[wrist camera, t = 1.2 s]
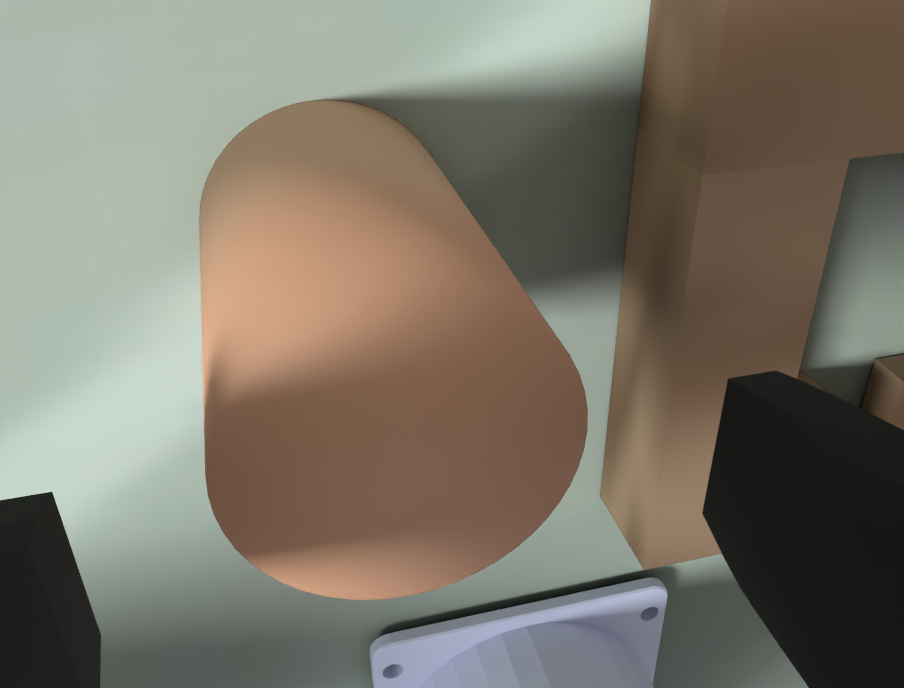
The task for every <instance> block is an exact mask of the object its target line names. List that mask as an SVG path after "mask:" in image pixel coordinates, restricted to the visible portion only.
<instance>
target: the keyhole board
mask: <svg viewBox="0 0 904 688" xmlns="http://www.w3.org/2000/svg"><path fill="white" fill-rule="evenodd" d="M897 153H904V0H651V7H650V17H649V27H648V37H647V46H646V56H645V66H644V75H643V85H642V95H641V104H640V114H639V124H638V134H637V143H636V153H635V163H634V172H633V182H632V192H631V201H630V211H629V221H628V231H627V240H626V250H625V260H624V269H623V279H622V289H621V298H620V308H619V318H618V328H617V337H616V347H615V357H614V366H613V376H612V386H611V396H610V405H609V415H608V425H607V434H606V444H605V454H604V463H603V473H602V483H601V493H600V497H601V499H602V500H603V502H604V504H605V505H606V507H607V509H608V510H609V512H610V514H611V515H612V517H613V519H614V520H615V522H616V524H617V525H618V527H619V529H620V531H621V532H622V534H623V536H624V537H625V539H626V541H627V542H628V544H629V546H630V547H631V549H632V551H633V552H634V554H635V556H636V557H637V559H638V561H639V562H640V564H641V566H642V567H643V569H644V570H647V569H652V568H656V567H661V566H666V565H670V564H675V563H680V562H685V561H689V560H694V559H699V558H703V557H708V556H713V555H717V554H722V553H721V551H720V548H719V546H718V544H717V542H716V540H715V538H714V536H713V534H712V532H711V530H710V528H709V526H708V524H707V522H706V520H705V518H704V516H703V514H702V511H703V506H704V501H705V496H706V491H707V485H708V480H709V475H710V470H711V464H712V459H713V454H714V449H715V444H716V438H717V433H718V428H719V423H720V417H721V412H722V407H723V402H724V397H725V391H726V386H727V381H728V378H734V377H740V376H746V375H752V374H758V373H764V372H769V371H775V370H776V371H779V372H781V373H784V374H786V375H789V376H791V377H794V378H796V379H798V380H801V381H803V382H805V383H807V384H810V385H812V386H814V387H816V388H818V389H820V390H823V389H822V388H821V387H820V386H819V385H818V384H817V383H815V382H814V381H813V380H812V379H811V378H810V377H809V376H808V375H807V374H806V373H805V372H803V371H802V372H799V369H800V365H801V361H802V357H803V353H804V348H805V344H806V340H807V336H808V332H809V328H810V323H811V319H812V315H813V311H814V307H815V302H816V298H817V294H818V290H819V286H820V282H821V277H822V273H823V269H824V265H825V261H826V257H827V252H828V248H829V244H830V240H831V236H832V232H833V227H834V223H835V219H836V215H837V211H838V206H839V202H840V198H841V194H842V190H843V186H844V181H845V177H846V173H847V169H848V165H849V161H850V159H853V158H862V157H871V156H880V155H888V154H897ZM823 391H824V390H823ZM861 409H862V410H864V411H866V412H868V413H870V414H872V415H874V416H876V417H878V418H880V419H882V420H884V421H886V422H888V423H890V424H892V425H894V426H896V427H898V428H900V429H902V430H904V354H902V355H897V356H891V357H885V358H879V359H875V362H874V365H873V369H872V372H871V375H870V379H869V382H868V386H867V389H866V393H865V396H864V399H863V403H862V406H861Z"/></svg>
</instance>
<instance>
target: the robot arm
mask: <svg viewBox="0 0 904 688" xmlns="http://www.w3.org/2000/svg"><path fill="white" fill-rule="evenodd" d="M702 514H703V516H704V518H705V520H706V522H707V524H708V526H709V528H710V530H711V532H712V534H713V536H714V538H715V540H716V542H717V544H718V546H719V548H720V551H721V553H722V555H723V556H724V558H725V560H726V562H727V564H728V566H729V568H730V569H731V571H732V573H733V575H734V577H735V579H736V581H737V582H738V584H739V586H740V588H741V590H742V591H743V593H744V594H745V596H746V597H747V599H748V600H749V602H750V603H751V605H752V606H753V608H754V609H755V611H756V612H757V614H758V615H759V617H760V618H761V619H762V621H763V622H764V624H765V625H766V627H767V628H768V630H769V631H770V633H771V634H772V635H773V637H774V638H775V640H776V641H777V643H778V644H779V646H780V647H781V649H782V650H783V651H784V653H785V654H786V656H787V657H788V658H789V660H790V661H791V663H792V664H793V666H794V667H795V668H796V670H797V671H798V673H799V674H800V676H801V677H802V678H803V680H804V681H805V683H806V684H807V686H808V687H809V688H904V430H902V429H900V428H898V427H896V426H894V425H892V424H890V423H888V422H886V421H884V420H882V419H880V418H878V417H876V416H874V415H872V414H870V413H868V412H866V411H864V410H862V409H860V408H858V407H856V406H854V405H852V404H850V403H848V402H846V401H843V400H841V399H839V398H837V397H835V396H833V395H831V394H829V393H827V392H825V391H823V390H820V389H818V388H816V387H814V386H812V385H810V384H807V383H805V382H803V381H801V380H798V379H796V378H794V377H791V376H789V375H786V374H784V373H781V372H779V371H776V370H775V371H769V372H764V373H758V374H752V375H746V376H740V377H734V378H728V381H727V386H726V391H725V397H724V402H723V407H722V412H721V417H720V423H719V428H718V433H717V438H716V444H715V449H714V454H713V459H712V464H711V470H710V475H709V480H708V485H707V491H706V496H705V501H704V506H703V511H702ZM667 598H668V591H667V589H666V588H665V586H664V584H663V583H662V582H661V581H660V579H657V578H644V579H639V580H635V581H630V582H625V583H621V584H616V585H611V586H607V587H602V588H597V589H593V590H588V591H584V592H579V593H574V594H570V595H565V596H560V597H556V598H551V599H546V600H542V601H537V602H532V603H528V604H523V605H518V606H514V607H509V608H504V609H500V610H495V611H490V612H486V613H481V614H476V615H472V616H467V617H463V618H458V619H453V620H449V621H444V622H439V623H435V624H430V625H425V626H421V627H416V628H411V629H407V630H402V631H397V632H393V633H388V634H385V635H382V636H380V637H379V638H377V639H376V640H375V641H374V642H373V643H372V645H371V646H370V661H371V672H372V682H373V688H654V686H653V680H654V674H655V668H656V662H657V657H658V651H659V645H660V639H661V633H662V627H663V622H664V616H665V610H666V604H667ZM100 649H101V634H100V631H99V628H98V626H97V623H96V620H95V617H94V614H93V611H92V608H91V605H90V602H89V599H88V596H87V593H86V590H85V587H84V584H83V581H82V579H81V576H80V573H79V570H78V567H77V564H76V561H75V558H74V555H73V552H72V549H71V546H70V543H69V540H68V537H67V534H66V532H65V529H64V526H63V523H62V520H61V517H60V514H59V511H58V508H57V505H56V502H55V499H54V496H53V493H52V492H48V493H42V494H36V495H30V496H24V497H18V498H12V499H6V500H1V501H0V688H100ZM392 664H393V665H392Z"/></svg>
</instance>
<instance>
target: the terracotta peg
mask: <svg viewBox="0 0 904 688" xmlns="http://www.w3.org/2000/svg"><path fill="white" fill-rule="evenodd" d="M199 231H200V272H201V314H202V355H203V397H204V438H205V475H206V484H207V492H208V497H209V500H210V503H211V507H212V510H213V513H214V516H215V518H216V520H217V521H218V523H219V525H220V527H221V529H222V531H223V533H224V534H225V536H226V537H227V538H228V540H229V541H230V542H231V544H232V545H233V546H234V548H235V549H236V550H237V551H238V552H239V553H240V554H241V555H242V556H243V557H244V558H246V559H247V560H248V561H249V562H250V563H251V564H253V565H254V566H255V567H257V568H258V569H259V570H261V571H262V572H264V573H265V574H267V575H269V576H270V577H272V578H274V579H276V580H278V581H280V582H282V583H284V584H286V585H289V586H292V587H294V588H297V589H300V590H302V591H305V592H309V593H313V594H317V595H321V596H326V597H333V598H341V599H354V600H376V599H391V598H397V597H404V596H410V595H415V594H419V593H423V592H427V591H431V590H435V589H438V588H441V587H443V586H446V585H449V584H452V583H455V582H457V581H460V580H462V579H464V578H466V577H468V576H471V575H473V574H475V573H477V572H479V571H481V570H482V569H484V568H486V567H488V566H490V565H491V564H493V563H495V562H497V561H498V560H499V559H501V558H502V557H504V556H505V555H507V554H508V553H510V552H511V551H512V550H514V549H515V548H516V547H518V546H519V545H520V544H521V543H522V542H523V541H525V540H526V539H527V538H528V537H529V536H531V535H532V534H533V533H534V532H535V531H536V529H537V528H538V527H539V526H540V525H541V524H542V523H543V522H544V521H545V520H546V519H547V518H548V517H549V515H550V514H551V513H552V511H553V510H554V509H555V508H556V506H557V505H558V504H559V502H560V501H561V499H562V497H563V496H564V494H565V493H566V491H567V489H568V488H569V486H570V484H571V482H572V480H573V478H574V475H575V473H576V471H577V469H578V467H579V463H580V460H581V457H582V454H583V451H584V446H585V440H586V434H587V414H588V409H587V403H586V396H585V390H584V387H583V384H582V381H581V378H580V375H579V372H578V370H577V368H576V366H575V364H574V362H573V361H572V359H571V357H570V355H569V353H568V352H567V350H566V349H565V348H564V346H563V345H562V343H561V342H560V340H559V339H558V338H557V336H556V335H555V333H554V332H553V330H552V329H551V327H550V326H549V325H548V323H547V322H546V320H545V319H544V317H543V316H542V315H541V313H540V312H539V310H538V309H537V307H536V306H535V304H534V303H533V302H532V300H531V299H530V297H529V296H528V294H527V293H526V292H525V290H524V289H523V287H522V286H521V284H520V283H519V281H518V280H517V279H516V277H515V276H514V274H513V273H512V271H511V270H510V269H509V267H508V266H507V264H506V263H505V261H504V260H503V258H502V257H501V256H500V254H499V253H498V251H497V250H496V248H495V247H494V246H493V244H492V243H491V241H490V240H489V238H488V237H487V235H486V234H485V233H484V231H483V230H482V228H481V227H480V225H479V224H478V222H477V221H476V220H475V218H474V217H473V215H472V214H471V212H470V211H469V210H468V208H467V207H466V205H465V204H464V202H463V201H462V199H461V198H460V197H459V195H458V194H457V192H456V191H455V189H454V188H453V187H452V185H451V184H450V182H449V181H448V179H447V178H446V176H445V175H444V174H443V172H442V171H441V169H440V168H439V166H438V165H437V164H436V162H435V161H434V159H433V158H432V156H431V155H430V153H429V152H428V151H427V149H426V148H425V147H424V145H423V144H422V143H421V141H420V140H419V139H418V138H417V137H416V136H415V135H414V134H413V133H412V132H411V131H410V130H408V129H407V128H406V127H405V126H403V125H402V124H401V123H399V122H398V121H397V120H395V119H393V118H391V117H390V116H388V115H386V114H384V113H382V112H380V111H378V110H375V109H373V108H370V107H368V106H364V105H360V104H356V103H352V102H346V101H337V100H315V101H308V102H302V103H297V104H293V105H290V106H286V107H283V108H280V109H278V110H275V111H273V112H271V113H269V114H266V115H264V116H263V117H261V118H259V119H258V120H256V121H254V122H253V123H251V124H250V125H248V126H247V127H246V128H245V129H244V130H242V131H241V132H240V133H239V134H237V135H236V136H235V137H234V138H233V140H232V141H231V142H230V143H229V144H228V145H227V146H226V147H225V148H224V150H223V151H222V153H221V154H220V155H219V157H218V158H217V160H216V161H215V163H214V165H213V167H212V169H211V171H210V173H209V175H208V177H207V180H206V183H205V186H204V189H203V193H202V198H201V203H200V217H199Z"/></svg>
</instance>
